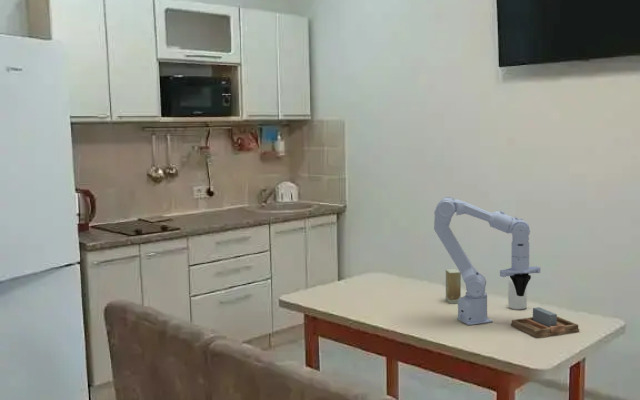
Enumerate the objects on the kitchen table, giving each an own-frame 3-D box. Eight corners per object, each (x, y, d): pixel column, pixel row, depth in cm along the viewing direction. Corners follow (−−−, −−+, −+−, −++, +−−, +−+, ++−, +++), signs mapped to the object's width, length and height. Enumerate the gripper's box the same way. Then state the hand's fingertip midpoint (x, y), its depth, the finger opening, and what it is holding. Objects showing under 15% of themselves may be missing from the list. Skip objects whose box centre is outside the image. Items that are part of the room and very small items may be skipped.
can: (527, 310, 237) (527, 277, 236) (509, 309, 238) (509, 277, 237) (525, 305, 243) (525, 273, 242) (507, 305, 244) (507, 273, 243)
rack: (536, 338, 206) (536, 329, 205) (510, 326, 219) (510, 317, 219) (579, 331, 211) (579, 323, 210) (551, 320, 224) (551, 312, 224)
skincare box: (445, 299, 255) (444, 268, 253) (456, 299, 255) (455, 268, 254) (449, 304, 248) (449, 272, 247) (461, 303, 249) (460, 271, 247)
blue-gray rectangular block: (550, 330, 210) (550, 315, 210) (532, 322, 219) (532, 308, 218) (556, 329, 211) (556, 314, 210) (539, 321, 219) (539, 307, 219)
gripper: (508, 260, 214) (508, 300, 215) (546, 256, 218) (545, 296, 220) (496, 256, 221) (496, 295, 222) (533, 252, 225) (533, 291, 226)
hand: (520, 295), depth 221 cm, fingers closed
